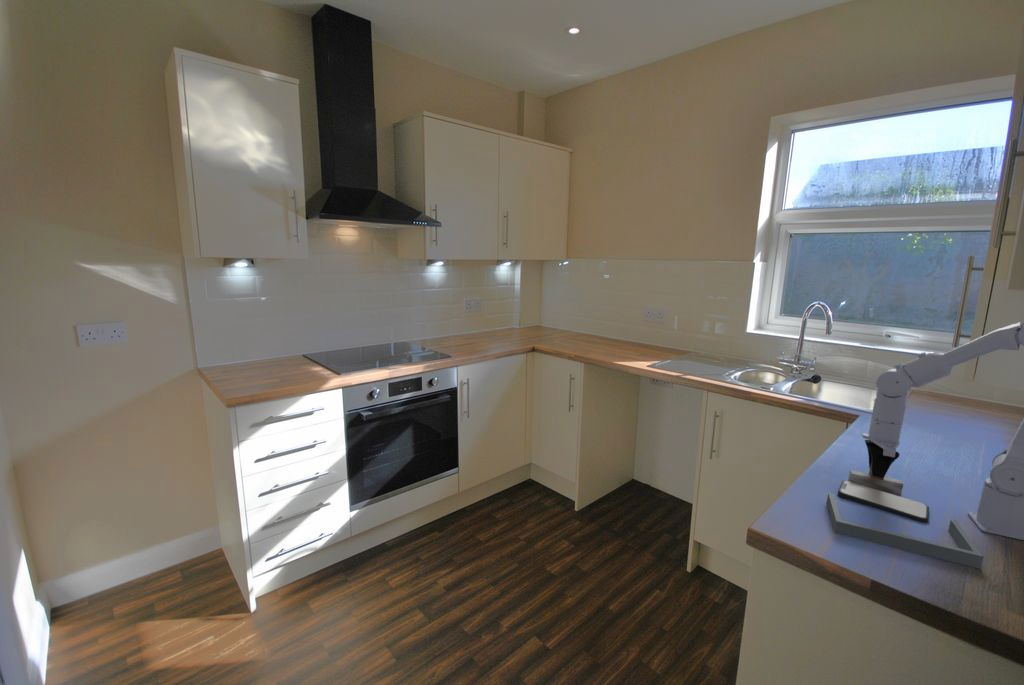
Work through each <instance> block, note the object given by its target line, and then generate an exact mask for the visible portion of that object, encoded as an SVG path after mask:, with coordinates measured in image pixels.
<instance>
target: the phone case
mask: <svg viewBox="0 0 1024 685" xmlns="http://www.w3.org/2000/svg"><path fill="white" fill-rule="evenodd" d="M837 496H838V497H839V498H841V499H844V500H847V501H851V502H854V503H857V504H860V505H863V506H867V507H869V508H872V509H873V508H874V509H877V510H879V511H882V512H886V513H890V514H892V515H895V516H898V517H902V518H905V519H909V520H912V521H915V522H919V523H923V524H926V523H927V524H928V523H929V518H930V507H929V506H928V505H927V504H925V503H923V502H919V501H916V500H914V499H910V498H907V497H903V496H901V495H896V494H891V493H887V492H883V491H880V490H877V489H873V488H870V487H867V486H863V485H860V484H857V483H853V482H850V481H848V480H842V482H841V483H840V486H839V488H838V490H837Z"/></svg>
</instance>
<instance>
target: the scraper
mask: <svg viewBox="0 0 1024 685" xmlns="http://www.w3.org/2000/svg"><path fill="white" fill-rule="evenodd" d="M847 481H850V482H853V483H857V484H860V485H863V486H867V487H870V488H873V489H877V490H880V491H883V492H887V493H890V494H893V495H897V496H902V492H903V488H904V482H903V480H902V479H897V478H893V477H888V476H884V478H881V477H876V476H873V475H872V461H871V466H870V468H869V471H868V473H866V472H862V471H857V470H851V469H850V470H849V476H848V480H847Z"/></svg>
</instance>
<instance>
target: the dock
mask: <svg viewBox="0 0 1024 685" xmlns="http://www.w3.org/2000/svg"><path fill="white" fill-rule="evenodd" d="M826 506H827V510H828V513H829V518H830V521H831V525H832V528H833V532H834V534H835V533H836V534H839V535H843V536H847V537H851V538H855V539H859V540H863V541H868V542H870V543H871V542H872V543H874V544H879V545H883V546H887V547H892V548H894V549H900V550H903V551H907V552H911V553H915V554H919V555H923V556H927V557H932V558H935V559H939V560H943V561H947V562H951V563H955V564H959V565H962V566H967V567H971V568H973V569H974V568H976V569H980V570H981V569H982V564H983V561H984V555H983V554H982V553H981V551H980V550H979V549H978V547H977V546H976V544H975V543H974V542H973V540H972V539H971V538H970V536H969V535H968V533H967V532H966V531H965V529H964V528H963V527H962V526H961V524H960V523H959V522H958V520H954V519H950V521H949V526H948V529H947V531H948V533H949V534H950V535H951V537H952V538H953V541H955V543H956V544H957V546H958V547H955V546H951V545H947V544H942V543H939V542H934V541H931V540H925V539H921V538H918V537H913V536H910V535H905V534H902V533H896V532H892V531H888V530H884V529H881V528H876V527H873V526H869V525H868V526H867V525H863V524H860V523H859V524H858V523H855V522H850V521H847V520H843V519H842V517H841V513H840V510H839V508H838V503H837V501H836V498H835V495H834V493H831V492H828V494H827V498H826Z"/></svg>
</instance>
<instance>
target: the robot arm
mask: <svg viewBox="0 0 1024 685" xmlns="http://www.w3.org/2000/svg"><path fill="white" fill-rule="evenodd" d="M1021 323H1022V322H1020V321H1019V322H1016V323H1012V324H1009V325H1007V326H1003V327H1000V328H998V329H995V330H993V331H990V332H989V333H986V334H984V335H982V336H979V337H977V338H975V339H972V340H971V341H969V342H966V343H964V344H962V345H960V346H957V347H955V348H953V349H951V350H949V351H946V352H944V353H939V352H934V351H930V352H928V353H927V352H926V351H923V352H921V353H919V354H917V358H914V359H912V360H910V361H907V362H905V363H902V364H901V363H898V364H895V365H894V368H891V369H887V370H885V371H884V372H882V373H881V374H880V375H879V376H878V377H877V379H876V384H875V385H876V389H877V391H876V398H874V402H873V403H874V404H873V407H872V412H871V413H872V414H871V419H870V425H869V428H868V429H869V430H868V433H864V432H863V433H862V434H861V437H862V439H865V440H864V443H865V445H866V448H867V452H868V467H869V469H870V466H871V461H872V475H873V476H876V477H881V478H884V477H886V474H887V473H888V471H889V469H890V468H891V467H890V466H892V464H893V463H894V462H895V461H896V460H897V459H898V458H899V457H900V453H899V452H898V451H897V449H898V447H899V445H900V444H901V441H900V437H901V433H902V428H903V421H904V417H905V411H906V408H907V403H906V401H907V398H908V397H907V396H908V391H910V390H911V389H912V388H920V387H922V386H926V385H928V384H930V383H933V382H935V381H938V380H941V379H943V378H946V377H948V376H950V375H951V373H952V370H953V368H954V367H956V366H958V365H960V364H964V363H965V362H966V363H967V362H968V361H971V360H974V359H976V358H977V359H978V358H980V357H982V356H985V355H987V354H990V353H993V352H995V351H998V350H1001V351H1002V350H1004V351H1005V350H1006V351H1019V350H1020V347H1021V346H1020V345H1022V346H1023V347H1024V322H1023V323H1022V324H1021ZM991 462H992V463H991V466H992V467H991V470H990V472H989V477H987V478H985V480H984V483H983V486H982V491H981V495H980V499H979V503H978V507H977V511H976V512H975V511H967V515H968V516H969V517H970V519H971V520H972V521H973V522H974V524H975V525H976V526H977V527H978V529H979V530H980V531H982V532H984V533H989V534H993V535H998V536H1003V537H1007V538H1011V539H1017V540H1021V541H1024V417H1023V418H1022V420H1021V422H1020V424H1019V426H1018V428H1017V430H1016V432H1015V434H1014V436H1013V437H1012V438H1011V439H1010V442H1009V443H1008V445H1007V446H1006V448H1005V449H1004V450H1003V451H1002V452H1000V453H998V454H996V455H995V456H994V457H993V458H992V461H991Z"/></svg>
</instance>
